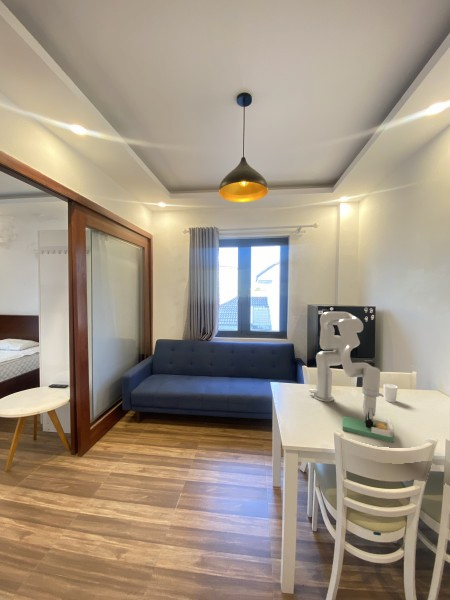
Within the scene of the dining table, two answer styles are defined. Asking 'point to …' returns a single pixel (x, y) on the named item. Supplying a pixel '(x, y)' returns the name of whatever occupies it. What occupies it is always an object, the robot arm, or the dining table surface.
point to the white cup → (390, 392)
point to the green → (361, 428)
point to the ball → (381, 426)
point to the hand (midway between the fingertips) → (368, 425)
